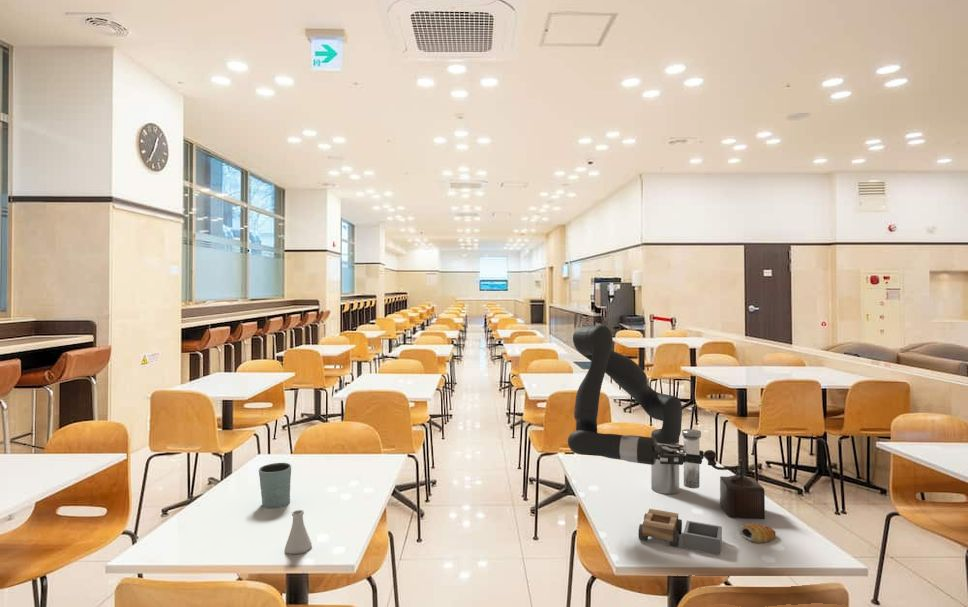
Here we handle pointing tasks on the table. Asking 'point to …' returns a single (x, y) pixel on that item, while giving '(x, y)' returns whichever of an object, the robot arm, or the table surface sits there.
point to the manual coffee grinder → (739, 492)
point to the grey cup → (275, 484)
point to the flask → (298, 535)
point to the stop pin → (691, 448)
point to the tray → (702, 537)
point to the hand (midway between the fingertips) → (702, 457)
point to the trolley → (661, 526)
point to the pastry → (757, 533)
